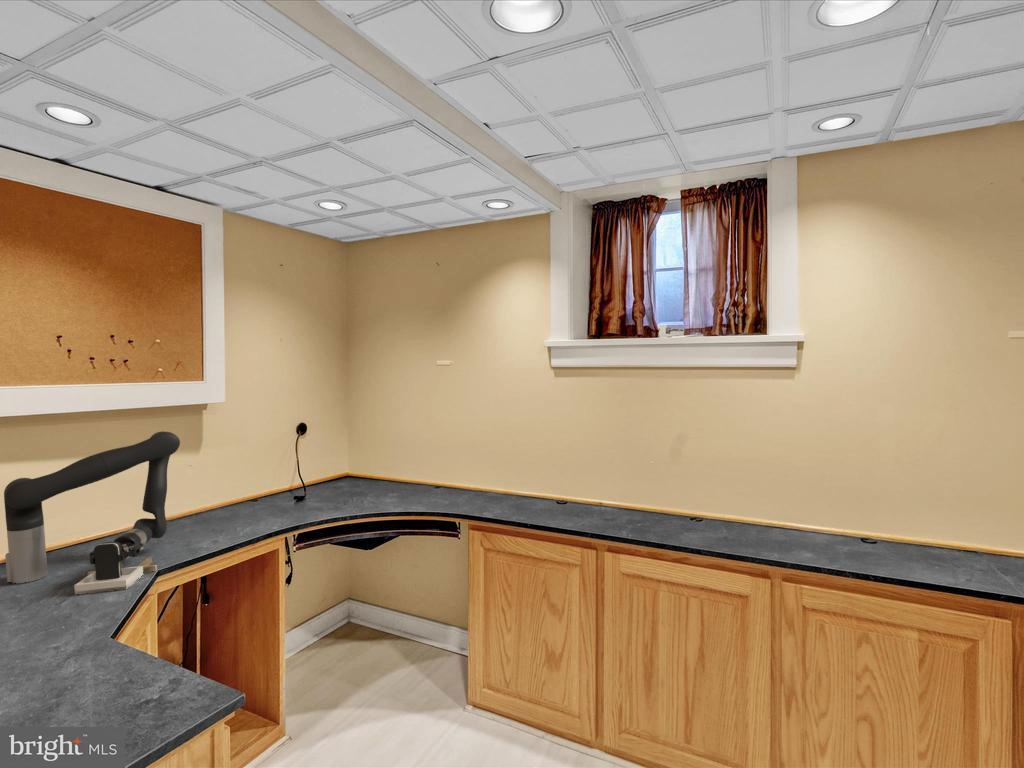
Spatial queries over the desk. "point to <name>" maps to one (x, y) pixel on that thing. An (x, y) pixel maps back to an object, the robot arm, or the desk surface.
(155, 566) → the dock
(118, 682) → the desk surface
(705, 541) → the desk surface
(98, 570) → the battery charger
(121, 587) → the tray
